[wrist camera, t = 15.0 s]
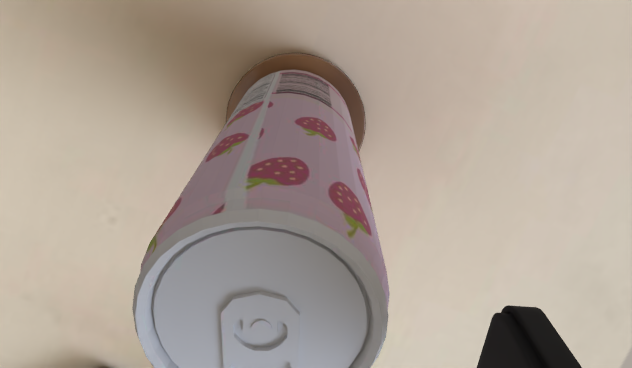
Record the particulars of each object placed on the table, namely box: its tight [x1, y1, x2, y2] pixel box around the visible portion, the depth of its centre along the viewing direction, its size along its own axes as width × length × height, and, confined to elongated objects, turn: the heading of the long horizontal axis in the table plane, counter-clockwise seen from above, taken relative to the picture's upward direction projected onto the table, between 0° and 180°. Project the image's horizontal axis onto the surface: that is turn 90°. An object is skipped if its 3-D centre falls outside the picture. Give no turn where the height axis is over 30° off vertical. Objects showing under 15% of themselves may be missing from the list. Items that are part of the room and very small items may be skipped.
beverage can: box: [133, 70, 389, 368], centre depth 16 cm, size 6×6×15 cm
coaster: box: [226, 53, 366, 152], centre depth 24 cm, size 7×7×1 cm
